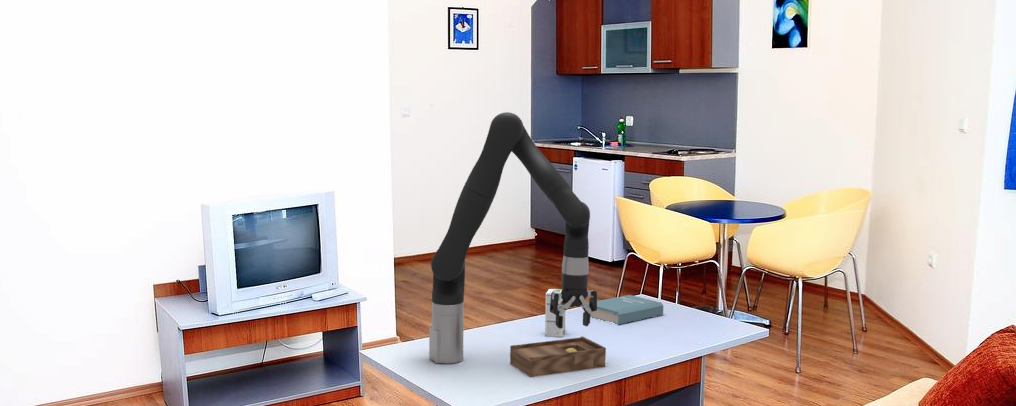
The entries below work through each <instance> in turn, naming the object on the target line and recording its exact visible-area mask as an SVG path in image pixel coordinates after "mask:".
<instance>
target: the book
mask: <svg viewBox="0 0 1016 406" xmlns="http://www.w3.org/2000/svg"><path fill="white" fill-rule="evenodd" d="M587 304H588V305H589V302H587ZM662 314H663V315H664V304H663V303H662V302H661V301H656V300H653V299H649V298H644V297H641V296H635V295H631V294H628V295H622V296H617V297H612V298H606V299H602V300H597V310H596V311H593V312H591V314H590V318H591V317H592V318H591V319H594V318H595V320H598V319H600V320H599V321H601V320H603V321H602V322H605V321H609V322H613V323H615V324H618V325H617V326H620V325H619V324H621V325H624V324H623V323H626V324H628V323H627V322H630V323H632V322H631V321H634V322H637V321H636V320H639V321H641V320H640V319H643V320H646V319H645V318H648V319H650V318H649V317H652V318H654V317H653V316H657V315H661V316H663V315H662ZM657 317H658V316H657ZM615 324H614V325H615Z"/></svg>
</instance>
